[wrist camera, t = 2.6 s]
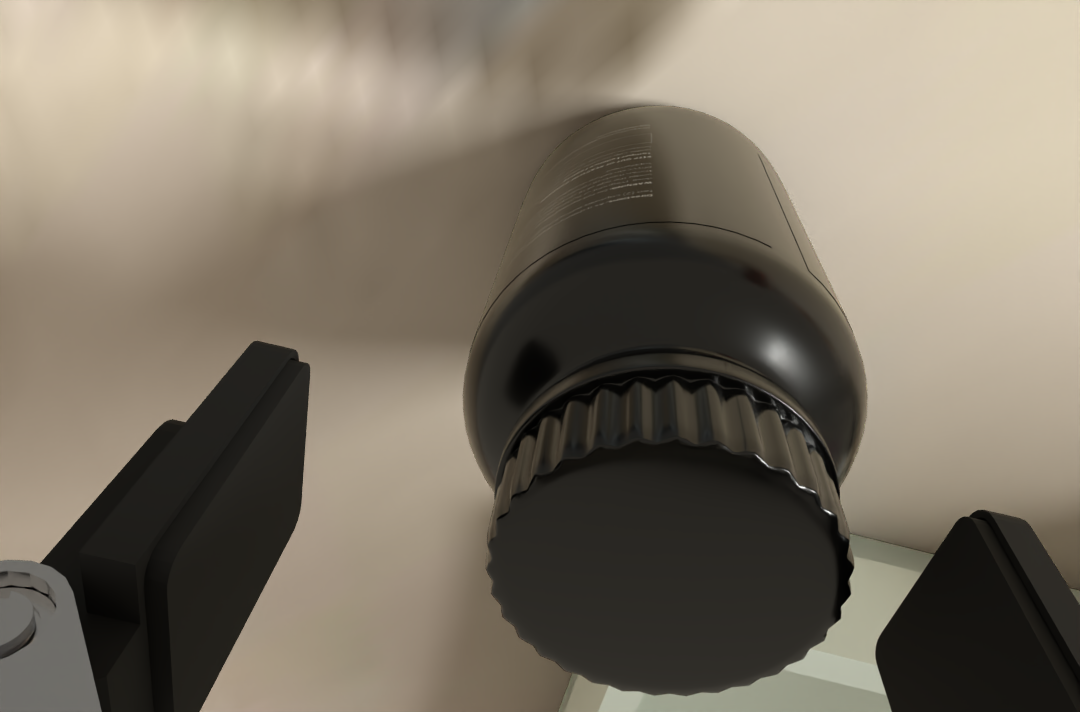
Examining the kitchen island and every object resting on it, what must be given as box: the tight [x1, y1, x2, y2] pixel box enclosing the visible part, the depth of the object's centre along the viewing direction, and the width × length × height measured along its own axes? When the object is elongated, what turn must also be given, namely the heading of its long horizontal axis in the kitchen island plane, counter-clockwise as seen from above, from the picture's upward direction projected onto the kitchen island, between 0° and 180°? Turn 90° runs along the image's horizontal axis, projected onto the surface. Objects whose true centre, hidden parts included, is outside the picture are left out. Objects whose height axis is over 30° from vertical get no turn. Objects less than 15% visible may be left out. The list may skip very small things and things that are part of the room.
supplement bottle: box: [463, 106, 867, 696], centre depth 15 cm, size 7×7×12 cm
